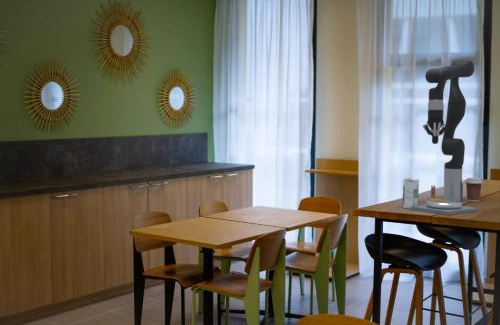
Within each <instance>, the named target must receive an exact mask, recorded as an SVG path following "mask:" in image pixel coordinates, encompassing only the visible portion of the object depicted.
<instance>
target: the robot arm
mask: <svg viewBox="0 0 500 325" xmlns="http://www.w3.org/2000/svg"><path fill="white" fill-rule="evenodd" d="M474 72H475V63H474V62H473V61H472V60H470V59H456V60H453V61H452V62H451V65H446V66H442V67H438V68H436V67H435V68H429V69H428V70H427V71H426V72H425V75H424V78H425V81H426V82H427V83H429V84H436V86H435V87H431V88H430V89H428V102H427V121H426V123H425V124H423V125H422V129H424V131H425V132H426V133H427V135H428V136H431V143H432V145H438V143H439V137H440V136H442V140H441V145H440V146H441V147H440V148H441V152H442V154H443V155H445V156H451V160H448V161H447V162H445V163H444V166H443V172H444V173H443V200H446V201H456V202H462V201H463V200H464V199H463V197H464V196H463V194H464V193H463V192H464V190H463V189H464V184H463V166H464V164H465V163H464V162H465V153H466V152H465V151H466V150H465V149H466V148H465V147H466V146H465V145H466V144H465V142H464V140H463V139H462V138H457V137H455V132H456V130H457V127H458V126H459V124H460V123H461V122H462V120H463V119H464V117H465V113H466V107H467V99H465V98H466V97H465V96H464V94H463V93H462V91H461V88H460V82H459V80H460V78H469V77H472V75H473V74H474ZM447 81H449V92H448V93H449V94H448V101H447V110H446V120H445V121H444V112H445V111H444V108H445V107H444V104H445V103H444V91H445V87H446V85H447V84H446V83H447Z"/></svg>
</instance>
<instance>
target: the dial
mask: <svg viewBox="0 0 500 325" xmlns="http://www.w3.org/2000/svg"><path fill="white" fill-rule="evenodd" d="M426 205H427V207H430V208H439V209H458V208H462V206H463V202H462V201H446V200H444V199H441V198H436V185H434V184H433V185H431V186H430V198H429V200H427V201H426Z"/></svg>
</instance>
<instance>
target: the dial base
mask: <svg viewBox="0 0 500 325" xmlns="http://www.w3.org/2000/svg"><path fill="white" fill-rule="evenodd" d="M410 211H417V212H425V213H432V214H440V215H446V216H447V215H448V216H454V215H460V214H465V213H467V214H468V213H474V212H478V211H479V208H478V207H472V206H466V205H464V206H463V205H462V208H458V209H439V208H430V207H427V204H421V205H418V206H411V207H410Z"/></svg>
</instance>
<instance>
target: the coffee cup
mask: <svg viewBox="0 0 500 325" xmlns="http://www.w3.org/2000/svg"><path fill="white" fill-rule="evenodd" d="M464 183H465V185H466V186H465V187H466V200H468V202H481V192H482V191H481V190H482V185H483V183H484V181H482V179H481V178H480V177H467V178H466V180H465V181H464Z"/></svg>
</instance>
